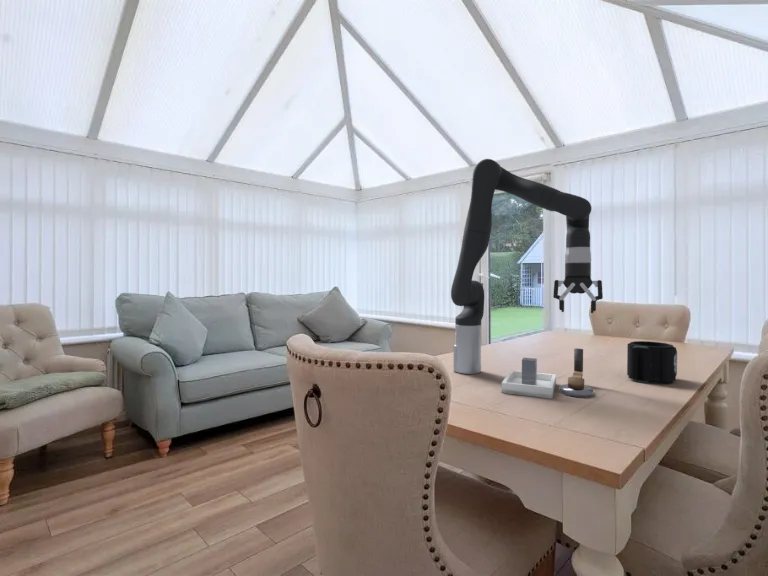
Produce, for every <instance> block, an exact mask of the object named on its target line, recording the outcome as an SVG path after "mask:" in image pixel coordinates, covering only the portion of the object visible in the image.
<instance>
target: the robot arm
mask: <svg viewBox="0 0 768 576" xmlns="http://www.w3.org/2000/svg"><path fill="white" fill-rule="evenodd" d="M495 190H496V191H500V192H504V193H507V194H510V195H512V196H515V197H518V198H519V199H522V201H523V200H524V201H525V202H528V203H529V204H531V205H533V206H536V207H539V208H541V209H544V210H547V211H550V212H556V213H559V214H561V215H563V216H565V218H566V219H565V221H566V223H565V224H566V235H565V236H566V238H565V239H566V240H565V254H564V255H565V256H564V279H563V280H559V279H555V280H554V281H553V284H554V285H553V293H552V295H553V298H554V299H557V300H559V301H558V303H559V304H558V307H559V308H558V309H559V311H561V313H565V298H566V297H567V295H568V294H586V295H587V296H588V297H589V298H590V299H591V300H590V314H594V312H596V311H597V302H598V301H599V300H602V299H604V298H603V297H604V296H603V281H602V280H600V279H598V280H592V278H591V277H592V273H591V272H592V252H591V233H590V232H591V231H590V215H591V213H592V205H591V203H590V201H589V200H588V199H586V198H584V197H583V196H579V195H575V194H572V193H568V192H564V191H562V190H558V189H557V188H555V187H552V186H549V185H546V184H543V183H541V182H537V181H534V180H531V179H527V178H524V177H521V176H520V175H517V174H514V173H512V172H510V171H509V170H507V169H505V168H504V167H502V166H501V165H500V164H499V163H498V162H497V161H495V160H493V159H491V158H484V159H482V160H480V161H478V162H477V163H476V165H475V167H474V169H473V172H472V182H471V194H470V202H469V207H468V210H467V215H466V219H465V224H464V228H463V236H462V239H461V240H462V241H461V248H460V252H459V259H458V263H457V267H456V270H455V274H454V277H453V281H452V284H451V289H450V298H451V300H452V303H453V304H454V305H455V306H456V307H457V306H458V307H463V309H462V311H461V312H460V313H459V314H458V315H456V316H455V326H454V329H455V331H454V333H455V335H454V336H455V337H454V339H455V340H454V341H455V342H454V343H455V344H454V345H453V372H456V373H459V374H463V375H464V374H465V375H466V374H467V375H472V374H473V375H475V374H480V373H481V372H482V320H483V317H484V313H485V311H484V310H485V308H484V307H485V289H484V286H483V285H482V283H481V282H480V281H477V280H473V277H474V272H475V270H476V267H477V265H478V264H479V262H480V261H481V259H482V258H483V256H484V254H485V253H486V251H487V250H488V246H489V243H490V238H491V234H492V227H493V222H492V221H493V219H492V218H493V209H492V207H493V206H492V205H493V200H494V195H495ZM562 285H564V287H565V288H566V289H565V290H564V292H563V293H562V294H561V295H559V287H560V288H561V286H562ZM592 285H594V287H595V288H597V296H595V295H594V294H593V293H592V292H591V290H590V287H591V286H592Z"/></svg>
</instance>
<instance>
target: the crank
mask: <svg viewBox="0 0 768 576" xmlns="http://www.w3.org/2000/svg"><path fill="white" fill-rule="evenodd" d="M573 351H574V352H573V360H574V361H573V374H572V376H569V377H567V384H568V387H569V388H571V389H584V386H585V378H583V375H584V374H583V373H584V348H576V347H575V348H573Z"/></svg>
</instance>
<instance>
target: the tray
mask: <svg viewBox="0 0 768 576" xmlns="http://www.w3.org/2000/svg"><path fill="white" fill-rule="evenodd" d="M556 384H557V374H556V373H555V374H553V373H543V372H537V385H526V384H522V370H513V369H512V370H510V371H509V372H508V373H507V375H506V377H505V378H504V379H503V381H501V393H503V394H510V395H518V396H525V397H536V398H541V399H542V398H544V399H553V396H554V393H555V389H556Z"/></svg>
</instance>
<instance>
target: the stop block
mask: <svg viewBox="0 0 768 576" xmlns="http://www.w3.org/2000/svg"><path fill="white" fill-rule="evenodd" d="M521 371H522V384H526V385H537V373H538V358H533V357H523V358H522V359H521Z"/></svg>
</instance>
